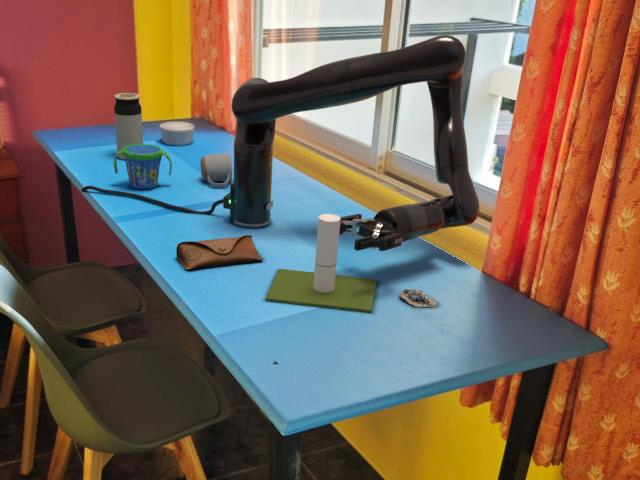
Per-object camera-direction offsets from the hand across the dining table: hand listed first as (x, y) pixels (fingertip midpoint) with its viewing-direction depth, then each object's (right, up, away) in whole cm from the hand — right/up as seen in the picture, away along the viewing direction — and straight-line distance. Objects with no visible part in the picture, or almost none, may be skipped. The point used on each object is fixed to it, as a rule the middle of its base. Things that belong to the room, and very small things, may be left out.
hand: (341, 238), depth 155 cm
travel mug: (-56, +40, +81) cm, 106 cm away
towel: (-4, -10, +4) cm, 11 cm away
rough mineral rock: (+16, -12, +1) cm, 20 cm away
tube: (-3, -10, +4) cm, 11 cm away
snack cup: (-48, +25, +58) cm, 79 cm away
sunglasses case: (-25, -2, +16) cm, 30 cm away
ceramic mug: (-28, +27, +62) cm, 74 cm away
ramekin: (-43, +50, +97) cm, 117 cm away
